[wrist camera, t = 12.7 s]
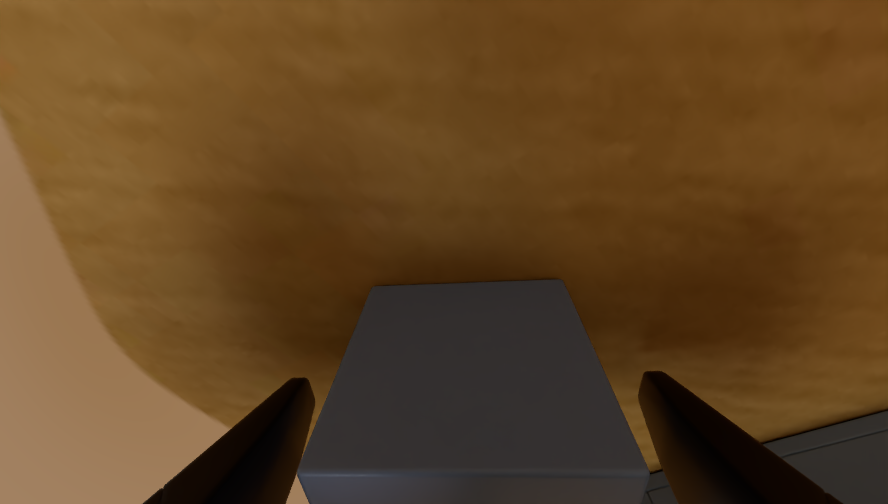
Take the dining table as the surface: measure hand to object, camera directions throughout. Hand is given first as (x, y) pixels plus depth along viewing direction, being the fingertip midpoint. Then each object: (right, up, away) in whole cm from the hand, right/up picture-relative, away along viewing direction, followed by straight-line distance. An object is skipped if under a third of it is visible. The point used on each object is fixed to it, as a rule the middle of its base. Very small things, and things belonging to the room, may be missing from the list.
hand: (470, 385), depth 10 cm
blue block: (0, +1, +1) cm, 1 cm away
